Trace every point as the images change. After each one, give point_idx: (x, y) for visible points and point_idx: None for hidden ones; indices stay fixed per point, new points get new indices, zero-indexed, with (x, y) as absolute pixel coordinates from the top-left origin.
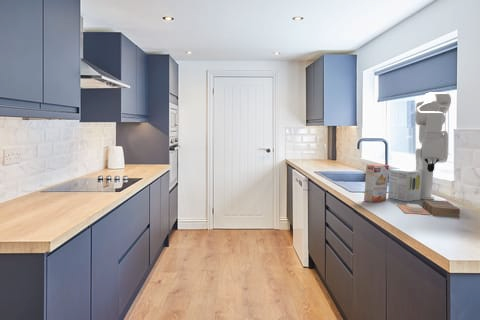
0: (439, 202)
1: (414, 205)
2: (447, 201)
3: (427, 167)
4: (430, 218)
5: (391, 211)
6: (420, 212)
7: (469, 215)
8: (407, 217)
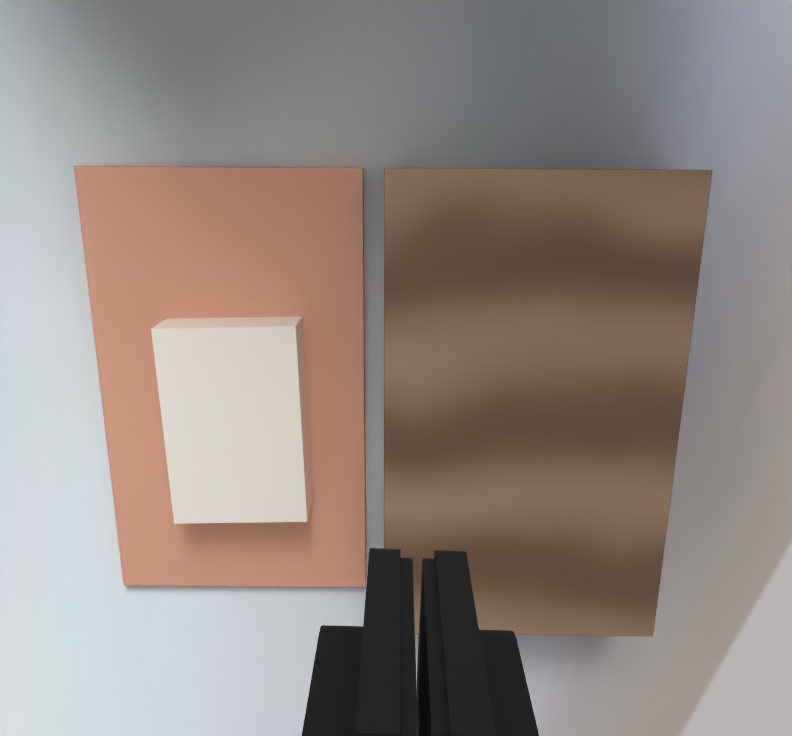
0: (558, 318)
1: (237, 415)
2: (707, 195)
3: (314, 680)
4: None
5: (7, 542)
6: (283, 542)
7: (770, 480)
8: (137, 733)
